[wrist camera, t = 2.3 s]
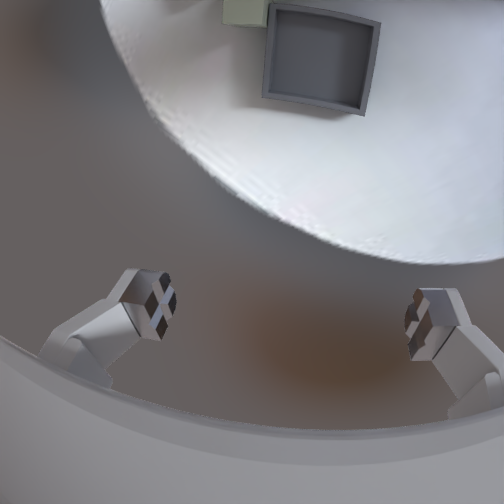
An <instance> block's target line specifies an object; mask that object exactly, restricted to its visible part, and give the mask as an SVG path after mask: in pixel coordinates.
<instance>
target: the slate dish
mask: <svg viewBox="0 0 504 504" xmlns="http://www.w3.org/2000/svg"><path fill="white" fill-rule="evenodd" d="M380 26H381V23H379V22H376V21H372V20H369V19H365V18H361V17H357V16H353V15H349V14H344V13H340V12H335V11H330V10H324V9H318V8H312V7H305V6H297V5H288V4H276V3H270V7H269V18H268V30H267V41H266V53H265V64H264V76H263V88H262V98H269V99H277V100H284V101H291V102H297V103H303V104H309V105H315V106H320V107H325V108H330V109H334V110H339V111H344V112H348V113H352V114H356V115H360V116H365V112H366V107H367V102H368V97H369V92H370V87H371V82H372V77H373V71H374V66H375V60H376V54H377V47H378V41H379V34H380Z"/></svg>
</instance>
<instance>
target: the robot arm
mask: <svg viewBox="0 0 504 504" xmlns="http://www.w3.org/2000/svg"><path fill="white" fill-rule="evenodd" d="M170 282H171V279H170V276H169V274H168V273H166V272H160V271H153V270H145V269H135V268H129V269H127V270H126V271H125V272H124V273H123V275H122V276H121V278H120V279H119V281H118V282H117V283H116V285H115V286H114V288H113V289H112V291H111V293H110V294H109V295H108V297H107V298H106V299H102V300H100V301H98V302H97V303H95V304H93V305H92V306H90V307H89V308H87V309H85V310H84V311H82V312H81V313H79V314H77V315H76V316H74V317H73V318H71V319H69V320H68V321H66V322H65V323H63V324H62V325H60V326H58V327H57V328H55V329H54V330H53V332H52V334H51V335H50V336H49V338H48V339H47V341H46V343H45V344H44V346H43V347H42V349H41V351H40V352H39V354H38V356H35V355H33V354H31V353H29V352H27V351H26V350H24V349H22V348H20V347H19V346H17V345H15V344H14V343H12V342H10V341H9V340H7V339H5V338H4V337H2V336H0V504H504V354H503V353H502V351H501V350H500V349H499V348H498V347H497V346H496V345H495V344H494V343H493V342H492V341H491V340H490V339H489V338H488V337H487V336H486V335H485V334H484V333H483V332H482V331H481V330H479V328H478V327H476V326H475V325H472V324H471V322H470V319H469V316H468V314H467V311H466V309H465V306H464V304H463V301H462V299H461V297H460V295H459V292H458V291H457V289H455V288H443V289H441V288H417V289H416V291H415V292H414V294H413V300H414V302H413V303H412V304H410V305H409V306H408V308H407V310H406V313H405V319H404V328H405V332H406V334H407V335H408V336H409V337H410V338H411V340H410V341H409V343H408V348H409V353H410V359H411V361H423V360H432V362H433V364H434V365H435V366H436V368H437V369H438V371H439V372H440V373H441V375H442V376H443V378H444V379H445V381H446V382H447V384H448V385H449V386H450V388H451V389H452V391H453V392H454V394H455V395H456V397H457V398H458V401H457V402H456V403H455V404H454V405H452V406H451V407H450V408H449V410H448V411H447V412H448V420H446V421H441V422H435V423H428V424H422V425H414V426H406V427H396V428H384V429H368V430H310V429H293V428H280V427H270V426H262V425H254V424H246V423H239V422H233V421H227V420H221V419H216V418H211V417H206V416H201V415H197V414H192V413H188V412H184V411H179V410H175V409H171V408H168V407H164V406H160V405H157V404H153V403H150V402H147V401H143V400H140V399H137V398H134V397H131V396H128V395H125V394H122V393H119V392H116V391H114V390H111V389H110V387H111V385H112V382H113V380H112V377H110V375H109V374H108V373H107V372H106V371H105V369H106V368H107V367H108V366H109V365H110V364H111V363H113V362H114V361H115V360H116V359H117V358H118V357H120V356H121V355H122V354H123V353H124V352H125V351H127V350H128V349H129V348H130V347H131V346H133V345H134V344H135V343H136V342H137V341H138V340H139V339H140V337H142V338H147V339H152V340H159V341H162V339H163V336H164V334H165V332H166V330H167V328H168V324H167V320H168V319H169V318H171V317H172V316H173V314H174V311H175V309H176V303H177V300H176V294H175V291H174V290H173V289H172V288H171V287H170V286H169V284H170Z"/></svg>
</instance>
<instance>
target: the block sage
mask: <svg viewBox="0 0 504 504" xmlns="http://www.w3.org/2000/svg"><path fill="white" fill-rule="evenodd" d="M272 2H273V0H223V12H222V24H227V25H231V26H236V27H261V28H268V18H269V7H270V3H272Z"/></svg>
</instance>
